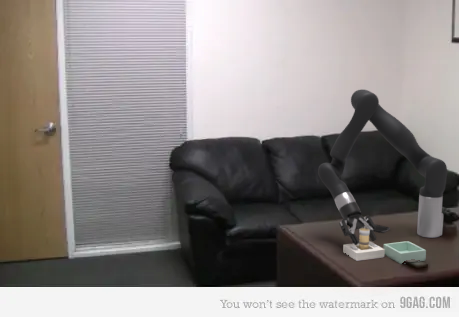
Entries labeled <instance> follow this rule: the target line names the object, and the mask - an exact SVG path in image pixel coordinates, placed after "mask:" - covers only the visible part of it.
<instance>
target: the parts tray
mask: <svg viewBox="0 0 459 317" xmlns="http://www.w3.org/2000/svg"><path fill="white" fill-rule="evenodd" d="M383 249H385V254H384V256H386V257H388V258H389V259H391V260H392V261H394V262H397V263H398V264H400V265H403V264H402V263H403V262H404V261H406V260H411V259H415V260H420V261H419V262H424V261H426V260H427V259H426V256H427V250H426V249H424V248H423V247H421V246H419V245H417V244H415V243H412V242H411V241H409V240H407V241H400V242H399V241H398V242H391V243H383Z"/></svg>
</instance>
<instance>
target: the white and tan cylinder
mask: <svg viewBox="0 0 459 317" xmlns="http://www.w3.org/2000/svg"><path fill="white" fill-rule="evenodd" d="M358 232H359V233H358V234H359V235H358V236H359V239H358V241H359V249H360V250H366V249H369V242H370V237H369V235H370V230H369V229H367V228H360V229H358Z"/></svg>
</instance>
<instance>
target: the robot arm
mask: <svg viewBox="0 0 459 317" xmlns="http://www.w3.org/2000/svg"><path fill="white" fill-rule="evenodd" d="M350 103H351V106H352V109H354V112H353V115H352V117H351V119H350V121H348V124H347V125H346V126H345V127H344V128H343V130H342V131H341V132H340V133H339V135H338V137H337V138H336V140H335V142H334V144H333V146H332V147H331V150H330V152H329V155H330V157H331V162H323V163H321V164H319V166H318V168H317V174H318V177H319V179H320V180H321V182H322V183H323V184H324V186H325V187H326V189H327V190H329V192H330V194H331V196H332V198H333V200H334V203H335V206H336V208H337V209H338V211H339V213H340V215H341V218H342V219H341V220H340V222H339V223H338V224H339V227H340V228H341V231H342V234H343V236H344V237H349V238H350V240H351V242H352V244H355V245H357V244H358V243H359V239H358V236H357V235H356V233H355V231H357V230H359V229H360V228H368V229H369V230H370V235H369V240H371V242H372V243H374V242H375V241H377V235H376V234H375V232H373V230H374V229H375V228H376V226H375V225H376V223H374V222H373V219H372V218H371V216H370V215H369V214H367V215H366V216H363V215H362V211H361V209H360V207H359V205H358V203H357V202H356V199H355V197H354V196H353V194H352V193H351V191H350V188H348V186H347V184H346V183H345V181H343V180H341V179H340V178H341V177H342V176H343V173H344V170H345V165H346V163H347V158H348V156H349V154H350V152H351V150H352V148H353V146H354V144H355V143H356V141H357V139H358V137H359V136H360V134H361V132H362V131H363V129H364V128H365V126H366V125H367V123H368V122H370V123H371V124H372V125H373V127H374V128H375V129H376V130H377V131H378V133H379V134H380V135H381V136H382V137H383V138H384V139H385V140H386V141H387V143H389V145H391V146H392V147H393V148H394V149H395V150H396V151H398V152H399V153H400V154H401V155H402V156H404V157H405V158H406V159H407V160H408V161H409V162H410V164H411V165H412V166H413V167H414V169H415V170H416V171H417V172H418V173H419V175H420V176H422V177H423V178H425V180H424V186H421V187H420V189H419V195H418V196H419V197H418V211H417V212H418V213H417V215H418V216H417V229H416V230H417V231H416V234H417V235H418V236H420V237H423V238H433V239H434V238H440V236H443V229H444V228H443V227H444V226H443V225H444V213H443V197H444V196H443V195H444V192H445V190H446V186H447V175H448V166H447V164H446V163H445V161H444V160H442V159H440V158H438V157H434V156H432V155H430V154H429V153H428V152H427V151H425V150H424V149H423V148H422V147H421V146H420V145H419V143H418V142H417V138H416V137H415V135H414V134H413V132H412V131H410V129H409V128H408V127H407V126H406V125H405V124H404V123H402V122H401V121H400V120H399V119H397V117H395V116H394V115H392V114H391V113H389V112H388V111H387V110H385V109H384V108H383V107H382V106H381V105H380V102H379V97H378V96H377V94H375V93H373V92H372V91H370V90H367V89H358V90H356V91H354V92H353V93H352V95H351V97H350ZM364 225H365V226H364ZM371 225H372V226H371ZM363 226H364V227H363Z"/></svg>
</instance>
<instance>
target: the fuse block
mask: <svg viewBox="0 0 459 317" xmlns="http://www.w3.org/2000/svg"><path fill="white" fill-rule="evenodd" d="M342 248H343V250H342V253H344V254H345V253H346V254H345V255H347V256H348V255H349V256H348V257H349V258H351V259H353V260H354V261H356V262H358V261H365V260H373V259H380V258H381V259H382V258H385V255H384V254H385V249H384V247H381V246H379V245H377V244H375V243H374V242H372V241H369V249H366V250H360V249H359V243H358V244H357V245H355V244H354V243H346V244H343V247H342Z"/></svg>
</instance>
